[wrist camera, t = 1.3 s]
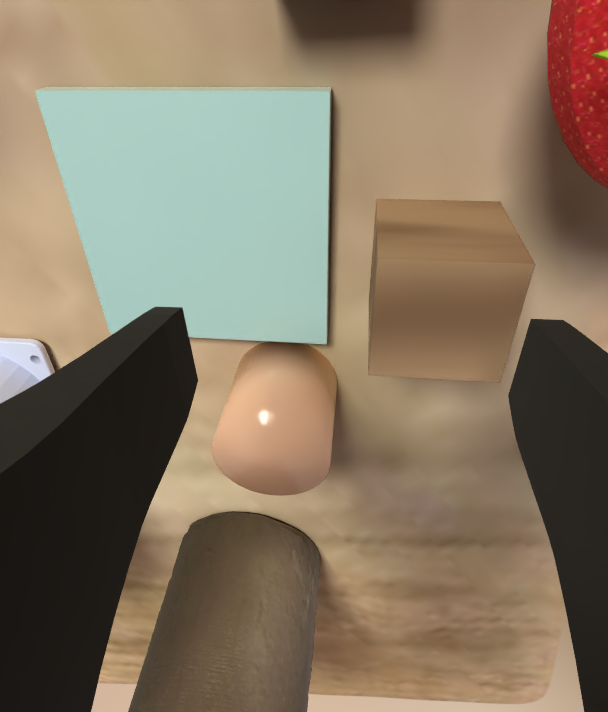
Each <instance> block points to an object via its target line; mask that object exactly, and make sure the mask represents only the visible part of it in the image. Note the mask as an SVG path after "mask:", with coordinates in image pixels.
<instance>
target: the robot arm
mask: <svg viewBox="0 0 608 712" xmlns="http://www.w3.org/2000/svg"><path fill="white" fill-rule="evenodd" d="M36 356H37V357H36ZM38 357H39V358H38ZM197 382H198V378H197V374H196V369H195V364H194V359H193V355H192V350H191V345H190V340H189V336H188V331H187V326H186V322H185V317H184V312H183V307H154V308H152V309H150V310H148V311H147V312H145V313H144V314H142V315H140V316H139V317H137V318H136V319H134V320H133V321H131V322H130V323H129V324H127V325H126V326H124V327H123V328H121V329H120V330H118V331H117V332H115V333H114V334H113V335H111V336H110V337H108V338H107V339H105V340H104V341H102V342H101V343H99V344H98V345H96V346H95V347H93V348H92V349H91V350H89V351H88V352H86V353H85V354H83V355H82V356H80V357H79V358H77V359H75V360H74V361H72V362H70V363H69V364H67V365H66V366H64V367H62V368H61V369H59V370H58V371H56V372H55V370H54V368H53V365H52V363H51V361H50V358H49V356H48V353H47V351H46V349H45V347H44V345H43V344H42V343H41V342H39V341H37V340H34V339H19V338H0V712H91V709H92V705H93V701H94V696H95V692H96V688H97V683H98V679H99V675H100V670H101V666H102V663H103V659H104V655H105V651H106V647H107V644H108V640H109V636H110V632H111V628H112V624H113V621H114V617H115V613H116V610H117V606H118V603H119V599H120V596H121V592H122V589H123V585H124V582H125V579H126V575H127V572H128V568H129V565H130V562H131V559H132V556H133V552H134V549H135V546H136V543H137V540H138V537H139V533H140V530H141V527H142V524H143V522H144V519H145V516H146V514H147V511H148V509H149V506H150V504H151V501H152V499H153V497H154V495H155V492H156V490H157V488H158V485H159V483H160V481H161V479H162V476H163V474H164V472H165V470H166V467H167V465H168V463H169V460H170V458H171V456H172V454H173V451H174V449H175V447H176V444H177V442H178V440H179V438H180V435H181V433H182V431H183V428H184V426H185V423H186V421H187V418H188V415H189V412H190V408H191V405H192V401H193V397H194V393H195V390H196V386H197ZM508 396H509V403H510V409H511V415H512V421H513V426H514V431H515V436H516V440H517V443H518V446H519V450H520V453H521V456H522V459H523V462H524V465H525V468H526V471H527V474H528V477H529V480H530V483H531V486H532V489H533V492H534V495H535V498H536V501H537V504H538V507H539V510H540V513H541V515H542V518H543V521H544V524H545V527H546V530H547V533H548V536H549V540H550V543H551V547H552V550H553V554H554V557H555V562H556V566H557V571H558V575H559V580H560V585H561V589H562V594H563V598H564V603H565V607H566V613H567V617H568V623H569V628H570V633H571V638H572V643H573V649H574V654H575V659H576V665H577V670H578V676H579V682H580V688H581V694H582V700H583V706H584V712H608V353H607V352H605V351H604V350H603V349H602V348H600V347H599V346H598V345H596V344H595V343H594V342H593V341H591V340H590V339H589V338H587V337H586V336H585V335H583V334H582V333H581V332H579V331H578V330H577V329H575V328H574V327H573V326H571V325H570V324H568V323H567V322H565V321H564V320H544V319H531V321H530V324H529V327H528V331H527V334H526V338H525V341H524V344H523V348H522V351H521V355H520V358H519V361H518V365H517V368H516V371H515V375H514V378H513V382H512V385H511V388H510V392H509V395H508Z"/></svg>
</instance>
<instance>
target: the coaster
mask: <svg viewBox="0 0 608 712" xmlns="http://www.w3.org/2000/svg"><path fill="white" fill-rule="evenodd" d="M331 92H332V87H45V88H42V89H39V90H36V91H35V93H36V97H37V100H38V103H39V106H40V109H41V113H42V116H43V119H44V122H45V126H46V129H47V132H48V135H49V138H50V142H51V145H52V148H53V151H54V155H55V158H56V161H57V164H58V167H59V171H60V174H61V177H62V180H63V183H64V187H65V190H66V193H67V196H68V200H69V203H70V206H71V209H72V212H73V216H74V219H75V222H76V225H77V229H78V232H79V235H80V238H81V241H82V245H83V248H84V251H85V254H86V258H87V261H88V264H89V267H90V270H91V274H92V277H93V280H94V283H95V286H96V290H97V293H98V296H99V299H100V303H101V306H102V309H103V312H104V315H105V319H106V322H107V325H108V328H109V332H110V333H115V332H117V331H118V330H120V329H121V328H123V327H124V326H126V325H127V324H129V323H130V322H131V321H133V320H134V319H136V318H137V317H139V316H140V315H142V314H144V313H145V312H147V311H148V310H150V309H152V308H154V307H183V312H184V317H185V322H186V326H187V331H188V336H189V337H193V338H213V339H233V340H253V341H273V342H293V343H312V344H327V336H328V286H329V221H330V157H331Z"/></svg>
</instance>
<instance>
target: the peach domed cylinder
mask: <svg viewBox="0 0 608 712" xmlns="http://www.w3.org/2000/svg"><path fill="white" fill-rule="evenodd" d="M336 392H337V377H336V373H335V370H334V368H333V366H332V365H331V363H330V362H329V361H328V359H327V358H326V357H325V356H324V355H323V354H321V353H320V352H319V351H317V350H316V349H314V348H312V347H310V346H308V345H306V344H303V343H293V342H273V341H268V342H264V343H261V344H259V345H257V346H255V347H253V348H252V349H250V350H249V351H248V352H247V353H246V354H245V355H244V356H243V357H242V359H241V361H240V363H239V366H238V368H237V371H236V374H235V377H234V380H233V383H232V386H231V389H230V392H229V395H228V398H227V401H226V404H225V407H224V410H223V413H222V416H221V419H220V422H219V425H218V427H217V430H216V433H215V436H214V439H213V443H212V455H213V458H214V461H215V463H216V465H217V466H218V468H219V469H220V470H221V471H222V472H223V474H225V475H226V476H227V477H228V478H229V479H230V480H232V481H233V482H235V483H236V484H238V485H240V486H242V487H244V488H246V489H249V490H252V491H255V492H258V493H262V494H268V495H280V496H282V495H293V494H298V493H302V492H305V491H308V490H310V489H312V488H314V487H315V486H317V485H318V484H320V483H321V482H322V481H323V480H324V478H325V477H326V476H327V474H328V472H329V469H330V463H331V452H332V440H333V428H334V416H335V404H336Z"/></svg>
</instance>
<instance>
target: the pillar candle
mask: <svg viewBox="0 0 608 712" xmlns="http://www.w3.org/2000/svg"><path fill="white" fill-rule="evenodd" d="M319 570H320V555H319V552H318V550H317V548H316V547H315V545H314V544H313V542H312V541H311V540H309V538H308V537H306V535H304V534H303V533H302V532H300V531H298V530H297V529H295V528H293V527H291V526H288V525H286V524H283V523H281V522H279V521H276V520H273V519H271V518H268V517H266V516H262V515H258V514H253V513H252V514H250V513H245V512H240V513H239V512H230V513H228V512H226V513H220V514H214V515H210V516H208V517H205V518H204V519H200V520H197V521H196V522H194V523H192V524H191V525H190V528H189V529H188V532H187V533H186V534H185V535H184V537H183V540H182V543H181V546H180V549H179V553H178V556H177V559H176V563H175V565H174V569H173V573H172V577H171V579H170V581H169V584H168V587H167V591H166V594H165V597H164V601H163V603H162V606H161V610H160V612H159V615H158V619H157V622H156V626H155V629H154V632H153V634H152V638H151V642H150V645H149V648H148V652H147V655H146V657H145V660H144V664H143V667H142V670H141V673H140V676H139V680H138V683H137V686H136V689H135V692H134V695H133V699H132V701H131V705H130V708H129V711H128V712H307V707H308V691H309V684H310V678H311V670H312V668H311V664H312V658H313V648H314V632H315V615H316V609H317V593H318V577H319Z"/></svg>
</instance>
